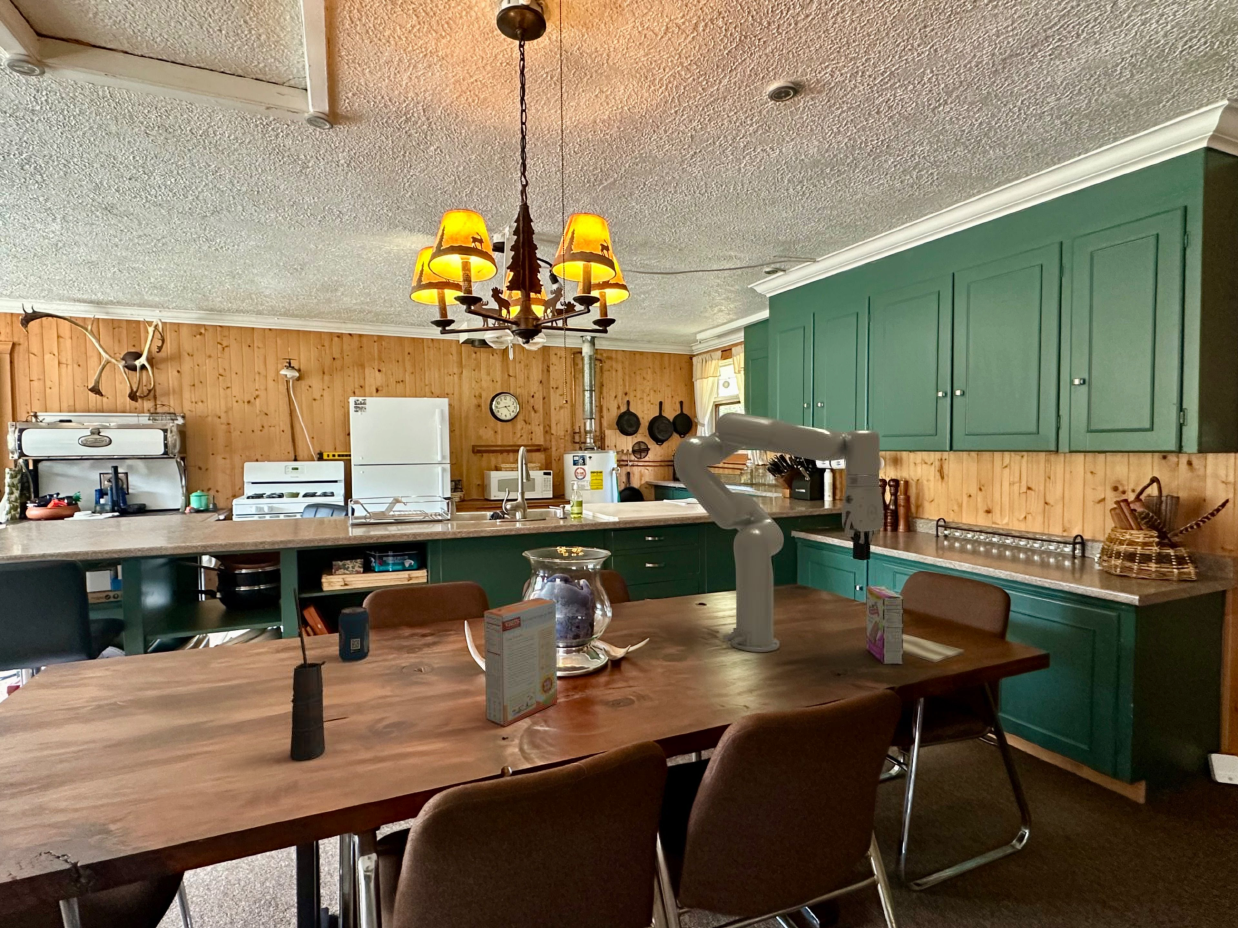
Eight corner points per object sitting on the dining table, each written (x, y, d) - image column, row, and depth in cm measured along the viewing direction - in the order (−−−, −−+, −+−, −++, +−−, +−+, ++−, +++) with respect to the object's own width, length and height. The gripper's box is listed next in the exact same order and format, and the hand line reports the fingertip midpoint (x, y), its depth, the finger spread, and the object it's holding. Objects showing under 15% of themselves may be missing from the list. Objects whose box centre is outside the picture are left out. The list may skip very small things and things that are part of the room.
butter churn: (351, 736, 109) (350, 579, 109) (335, 763, 100) (333, 592, 99) (296, 740, 108) (294, 581, 107) (274, 768, 98) (272, 594, 98)
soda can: (338, 656, 152) (337, 607, 152) (368, 651, 156) (367, 604, 155) (339, 664, 146) (339, 614, 146) (370, 660, 149) (370, 611, 149)
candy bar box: (864, 649, 157) (865, 585, 157) (884, 649, 157) (885, 585, 157) (882, 664, 146) (883, 596, 146) (903, 664, 146) (904, 596, 146)
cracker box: (537, 696, 127) (537, 595, 127) (558, 703, 123) (558, 600, 123) (483, 719, 116) (482, 609, 116) (504, 728, 113) (503, 614, 112)
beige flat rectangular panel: (935, 662, 148) (935, 659, 148) (868, 642, 163) (868, 640, 163) (964, 652, 155) (964, 650, 155) (898, 634, 170) (898, 632, 170)
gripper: (855, 483, 138) (854, 565, 139) (895, 482, 147) (895, 558, 147) (827, 482, 145) (827, 560, 145) (868, 480, 153) (867, 554, 153)
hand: (861, 559), depth 146 cm, fingers closed
